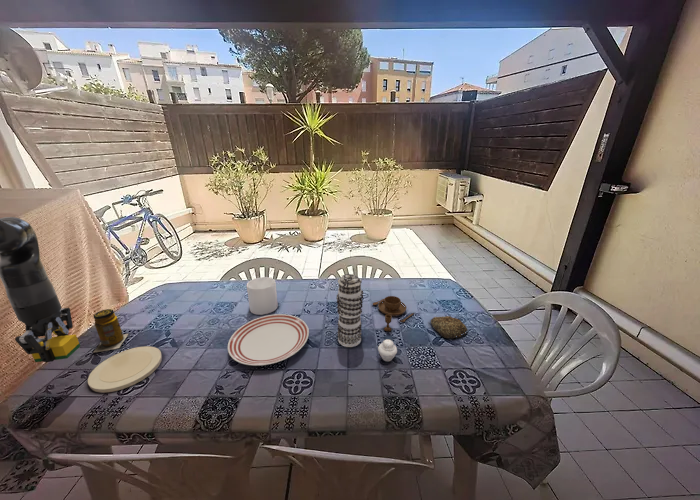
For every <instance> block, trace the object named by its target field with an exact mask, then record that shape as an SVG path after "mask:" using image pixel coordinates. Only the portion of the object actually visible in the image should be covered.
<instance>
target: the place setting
mask: <svg viewBox="0 0 700 500" xmlns="http://www.w3.org/2000/svg"><path fill="white" fill-rule="evenodd" d="M401 300H402V299H401V298H399V296H395V295H389V296H386V297H384V298H382V299H381V300H379V301H375V302H373V303H372V305H373V306H377V305H378V306H377V308H378V310H379V312H381V313H382V314H384V321H385V323H386V326H385V327H383V330H384V331H385V332H388V333H389V332H391V331H392V327H390V324H391V323H392V319H393V317H398V316H401V315H403V314H404V313H405V312H406V311H407V305H406V304H405V303H404V302H403V301H401ZM382 302H383V303H382ZM401 303H402V304H403V305H404V306H405V307H404V306H403V305H402V304H401ZM413 315H414V313H411V314H409V315H408V316H406V317H405V318H404V319H401V320H399V322H400V323H404V322H406V320H408V319H409V318H410V317H412V316H413Z"/></svg>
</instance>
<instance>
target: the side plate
mask: <svg viewBox="0 0 700 500" xmlns="http://www.w3.org/2000/svg"><path fill="white" fill-rule="evenodd" d="M162 360H163V355H162V352H161V350H160V349H159V348H157V347H155V346H150V345H149V346H148V345H146V346H137V347H133V348H128V349H125V350H123V351H120V352H117V353H116V354H113V355H112V356H110V357H108V358H106V359H105V360H103V361H102V362H100V363H99V364H98V365H97V366H96V367H94V368H93V369H92V371H91V372H90V374H89V375H88V377H87V384H88V387H89V389H91V391H93V392H96V393H101V394H102V393H112V392H117V391H122V390H124V389H127V388H129V387H132V386H134V385H136V384H138V383H139V382H142V381H143V380H145V379H146V378H148V377H149V376H151V375H152V374H153V373H154V372H155V371H156V370H157V369H158V368H159V366H160V365H161V364H162Z"/></svg>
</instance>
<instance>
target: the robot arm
mask: <svg viewBox="0 0 700 500" xmlns="http://www.w3.org/2000/svg"><path fill="white" fill-rule="evenodd" d="M0 280H1V283H2V285H3V287H4V289H5V293H6V297H7V299H8V301H9V303H10V305H11V308H12V310H13V312H14V315H15V316H16V319H17V320H18V321H19V322H21V323H23V325H25V332H24V333H23V334H22V335H18V336H16V337H15V342H16V343H17V344H18V345H19V346H20V347H21V348H22V350H23V351H24V352H25V353H26V354H27V355H32V354H35V353H39V355H40V358H41V360H42V361H43V363H51V362H52V363H53V362H54V361H56V360H55V359H56V358H55V356H54V353H53V351H52V349H51V348H50V340H51V339H52V337H53V335H54V336H66V335H69V332H70V329H73V327H74V324H73V320H72V318H73V317H72V312H71V308H70V307H63V308H62V304H61V302H60V299H59V297H58V295H57V292H56V289H55V287H54V285H53V283H52V281H51V280H50V278H49V276H48V274H47V272H46V269H45V266H44V264H43V262H42V259H41V251H40V245H39V241H38V236H37V233H36V231H35V229H34V227H33V226H32V225H31V223H29V222H28V221H26V220H24V219H22V218H20V217H15V216H4V217H0ZM65 322H66V324H65ZM41 342H43V345H44V346H41Z"/></svg>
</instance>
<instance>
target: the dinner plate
mask: <svg viewBox="0 0 700 500" xmlns="http://www.w3.org/2000/svg"><path fill="white" fill-rule="evenodd" d="M309 335H310V329H309V326H308V325H307V323H306V322H305V321H304V320H303V319H301V318H300V317H298V316H296V315H291V314H285V313H276V314H275V313H274V314H267V315H262V316H260V317H257V318H255V319H252V320H250V321H248V322H245V324H243V325H242V326H240V327H239V328H238V329H236V330H235V331H234V333H233V334H232V335H231V336H230V338H229V340H228V343H227V352H228V355H229V356H230V358H231V359H232V360H234V361H235V362H236V363H239V364H242V365H246V366H253V367H260V366H268V365H274V364H276V363H279V362H282V361H285V360H287V359H289V358H291V357H292V356H294V355H296V354H297V353H298V352H299V351H300V350H301V349H302V348H303V347H304V346H305V344H306V343H307V341H308V339H309Z"/></svg>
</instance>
